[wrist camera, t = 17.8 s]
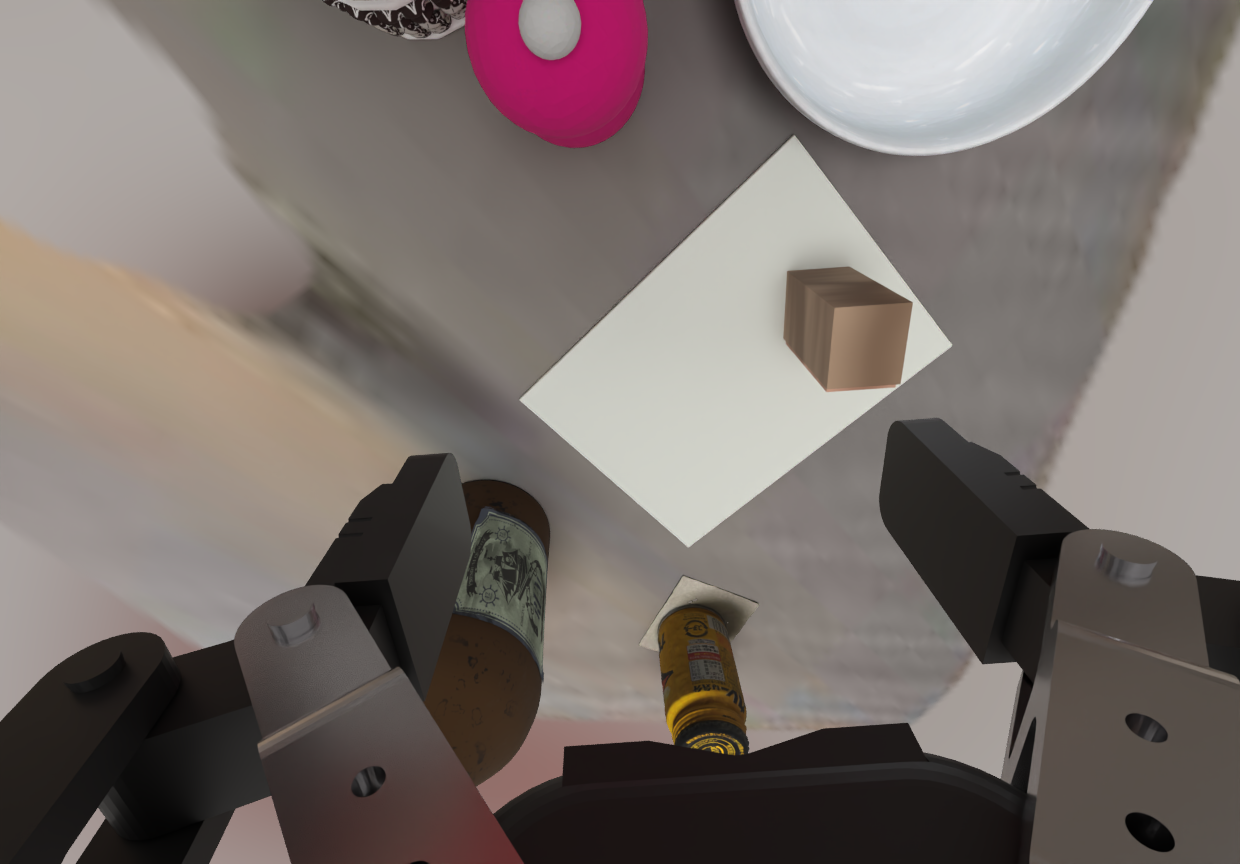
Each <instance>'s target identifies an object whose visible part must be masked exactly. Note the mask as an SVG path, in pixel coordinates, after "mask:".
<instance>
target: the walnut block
mask: <svg viewBox="0 0 1240 864" xmlns="http://www.w3.org/2000/svg"><path fill="white" fill-rule="evenodd" d="M912 306H913V302H911V301H910V300H908V299H906V298H904V297H903V296H901V295H899V294H897V293H895V292H894V291H892V290H890V289H888V288H887V287H885V286H883V285H881V284H880V283H878V282H876V281H874V280H872V279H871V278H869V277H867V276H865V275H864V274H862V273H860V272H858V271H857V270H855V269H853V268H851V267H835V268H821V269H807V270H792V271H787V281H786V299H785V316H784V334H783V339H784V340H785V341H786V345H787V346H788V347H789V348H790V350H791V351H792V352H793V353H794V354H795V355H796V357H797V358H798V359H799V360H800V361H801V363H802V364H803V365H804V366H805V367H806V369H807V370H808V371H809V372H810V373H811V374H812V376H813V377H814V378H815V379H816V380H817V382H818V383H819V384H820V385H821V386H822V387H823V389H824V390H825V391H826V392H836V391H851V390H865V389H880V388H895V387H896V385H897V384H901V378H902V372H903V365H904V359H905V352H906V345H907V339H908V332H909V326H910V319H911V312H912Z"/></svg>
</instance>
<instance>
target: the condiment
mask: <svg viewBox="0 0 1240 864" xmlns="http://www.w3.org/2000/svg"><path fill="white" fill-rule="evenodd" d="M694 599H697V600H696V601H693V600H694ZM689 601H692V603H688V602H689ZM758 606H759V604H757V603H754V602H751V601H750V600H748V599H745V598H743V597H740V596H737V595H734V594H733V593H730V592H727V591H724V590H721V589H719V588H717V587H715V586H710V585H707V584H704V583H702V582H700V581H697V580H693V579H690V578H687V577H685V576H683V577H682V578H681V580H680V582H679V583H678V585H677V586H676V588H675V589H674V591H673V593H672V595H671V596H670V597H669V599H668V600H667V602H666V604H665V605H664V607H663V608H662V609H661V611H660V612H659V614H658V615H657V617H656V618H655V620H654V622H653V623H652V625H651V626H650V628H649V629H648V631H647V633H646V634H645V636H644V637H643V639H642V640H641V642H640V644H639V646H641V647H644V648H647V649H650V650H654V651H658V652H659V658H660V667H661V676H662V678H661V679H662V685H663V695H664V704H665V715H666V722H667V725H668V728H669V730H670V732H671V733H672V739H673V742H674V745H676V746H682V747H688V748H694V749H700V750H706V751H712V752H718V753H724V754H730V755H745V754H748V751H749V747H748V746H749V741H748V739H747V736H746V726H745V722H746V706H745V703H744V698H743V694H742V690H741V686H740V682H739V677H738V673H737V669H736V665H735V661H734V657H733V653H732V649H731V645H730V642H731V641H732V640H733V639H734V638H735V636H736V635H737V634H738V633H739V632H740V630H741V628H742V627H743V626H744V624H745V623H746V621H747V620H748V619H749V617H750V616H751V615H752V614H753V613H754V611H755V610H756V608H757V607H758ZM727 622H729V623H727Z"/></svg>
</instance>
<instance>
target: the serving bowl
mask: <svg viewBox="0 0 1240 864" xmlns="http://www.w3.org/2000/svg"><path fill="white" fill-rule="evenodd" d="M734 2H735V5H736V9H737V13H738V16H739V19H740V22H741V25H742V27H743V30H744V32H745V35H746V38H747V40H748V42H749V44H750V46H751V48H752V50H753V53H754V54H755V56H756V58H757V60H758V61H759V63H760V65H761V67H762V68H763V70H764V71H765V73H766V74H767V76H768V77H769V79H770V80H771V81H772V83H773V84H774V85H775V87H776V88H777V89H778V90H779V91H780V93H781V94H782V95H783V96H784V97H785V98H786V99H787V100H788V102H789V103H790V104H791V105H793V106H794V107H795V108H796V109H797V110H798V111H799V112H800V113H801V114H803V115H804V116H805V117H807V118H808V119H809V120H810V121H812V122H813V123H814V124H816V125H818V126H819V127H821V128H822V129H824V130H826V131H827V132H829V133H831V134H832V135H834V136H836V137H838V138H840V139H842V140H845V141H847V142H849V143H852V144H854V145H857V146H859V147H863V148H866V149H869V150H872V151H877V152H881V153H887V154H893V155H903V156H929V155H940V154H947V153H953V152H958V151H962V150H967V149H971V148H974V147H977V146H980V145H983V144H986V143H989V142H992V141H994V140H997V139H999V138H1001V137H1004V136H1006V135H1008V134H1011V133H1012V132H1014V131H1016V130H1018V129H1020V128H1022V127H1024V126H1026V125H1028V124H1029V123H1031V122H1033V121H1034V120H1036V119H1038V118H1039V117H1041V116H1042V115H1044V114H1045V113H1047V112H1048V111H1050V110H1051V109H1053V108H1054V107H1056V106H1057V105H1058V104H1060V103H1061V102H1062V101H1064V100H1065V99H1066V98H1068V97H1069V96H1070V95H1071V94H1072V93H1073V92H1075V91H1076V90H1077V89H1078V88H1079V87H1080V86H1082V85H1083V84H1084V83H1085V82H1086V81H1087V80H1088V79H1089V78H1090V77H1091V76H1092V75H1093V74H1094V73H1095V72H1096V71H1097V70H1098V69H1099V68H1100V67H1101V66H1102V65H1103V64H1104V63H1105V62H1106V61H1107V60H1108V59H1109V58H1110V56H1111V55H1112V54H1113V53H1114V52H1115V51H1116V50H1117V48H1118V47H1119V46H1120V45H1121V44H1122V43H1123V42H1124V40H1125V39H1126V38H1127V37H1128V35H1129V34H1130V33H1131V31H1132V30H1133V29H1134V27H1135V26H1136V25H1137V23H1138V22H1139V21H1140V19H1141V18H1142V17H1143V15H1144V14H1145V12H1146V11H1147V9H1148V8H1149V6H1150V5H1151V3H1152V2H1153V0H734Z"/></svg>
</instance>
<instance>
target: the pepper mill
mask: <svg viewBox="0 0 1240 864" xmlns="http://www.w3.org/2000/svg"><path fill="white" fill-rule="evenodd" d="M465 36H466V43H467V49H468V54H469V57H470V60H471V64H472V67H473V70H474V73H475V75H476V77H477V79H478V81H479V83H480V85H481V87H482V88H483V90H484V92H485V93H486V95H487V96H488V98H489V99H490V101H491V102H492V103H493V104H494V106H495V107H496V108H497V109H498V110H499V111H500V112H501V113H502V114H503V115H504V116H505V117H507V118H508V119H509V120H511V121H512V122H513V123H514V124H516V125H518V126H519V127H521V128H523V129H524V130H526V131H529V132H531V133H534V134H536V135H538V136H539V137H541V138H542V139H543V140H545V141H548V142H550V143H553V144H555V145H558V146H563V147H569V148H582V147H588V146H592V145H595V144H598V143H600V142H603V141H605V140H606V139H608V138H609V137H611V136H613V135H614V134H615V133H616V132H617V131H619V130H620V129H621V128H622V127H623V126H624V124H625V123H626V122H627V121H628V120H629V118H630V117H631V115H632V113H633V112H634V110H635V108H636V106H637V103H638V101H639V98H640V96H641V92H642V88H643V83H644V74H645V60H646V54H647V44H648V28H647V20H646V12H645V8H644V4H643V0H467V5H466V11H465Z"/></svg>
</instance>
